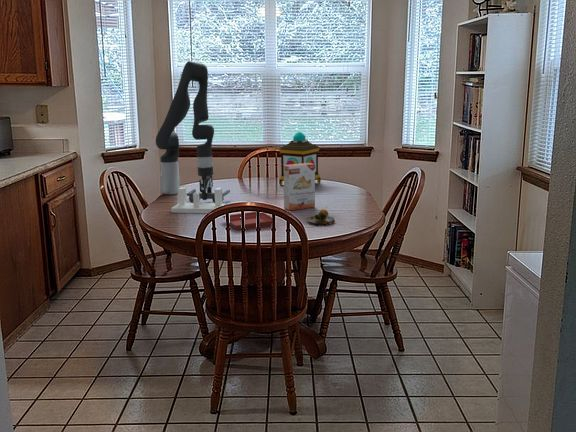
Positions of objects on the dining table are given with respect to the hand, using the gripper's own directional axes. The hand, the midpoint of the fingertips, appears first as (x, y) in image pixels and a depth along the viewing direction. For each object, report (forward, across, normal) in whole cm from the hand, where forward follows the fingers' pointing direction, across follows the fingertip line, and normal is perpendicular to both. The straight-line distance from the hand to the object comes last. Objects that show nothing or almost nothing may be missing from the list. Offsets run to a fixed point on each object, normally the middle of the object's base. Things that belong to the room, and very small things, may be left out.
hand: (207, 198), depth 293 cm
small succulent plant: (+4, +34, +60) cm, 69 cm away
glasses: (+2, -4, 0) cm, 5 cm away
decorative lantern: (+3, -53, +39) cm, 66 cm away
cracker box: (+3, +8, +48) cm, 48 cm away
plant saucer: (+4, +39, +30) cm, 50 cm away
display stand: (+3, +16, 0) cm, 16 cm away
